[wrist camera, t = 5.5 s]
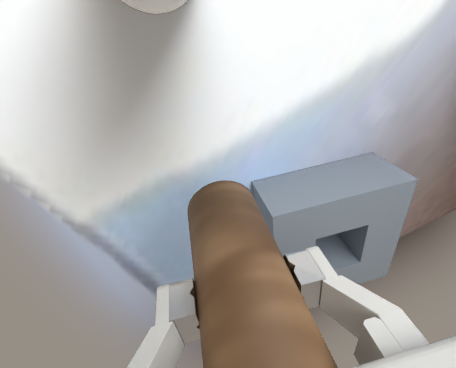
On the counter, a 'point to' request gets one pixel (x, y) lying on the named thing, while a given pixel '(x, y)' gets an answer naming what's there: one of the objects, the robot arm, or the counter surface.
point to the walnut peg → (247, 288)
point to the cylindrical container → (155, 5)
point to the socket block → (340, 212)
